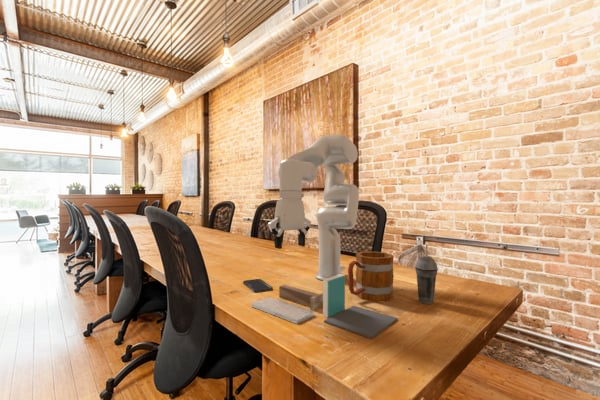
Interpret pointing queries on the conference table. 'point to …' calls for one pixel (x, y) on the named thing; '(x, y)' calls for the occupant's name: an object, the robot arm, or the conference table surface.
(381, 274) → the mug
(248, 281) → the phone
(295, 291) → the brown t-shaped post
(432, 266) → the beverage cup
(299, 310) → the tool rest
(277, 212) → the robot arm
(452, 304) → the conference table surface
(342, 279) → the tile
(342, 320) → the mat
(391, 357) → the conference table surface
